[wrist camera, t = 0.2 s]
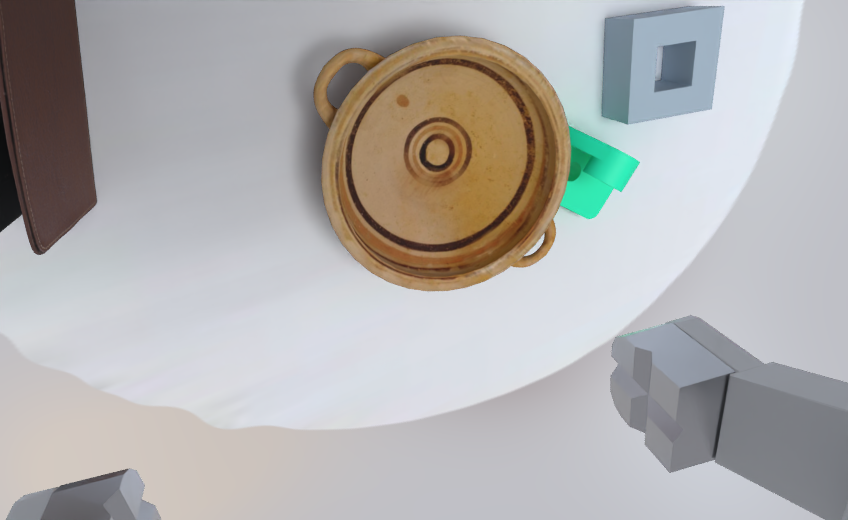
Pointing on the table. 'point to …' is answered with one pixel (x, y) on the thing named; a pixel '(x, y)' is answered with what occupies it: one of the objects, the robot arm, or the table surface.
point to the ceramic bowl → (443, 161)
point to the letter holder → (43, 121)
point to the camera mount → (594, 174)
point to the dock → (681, 68)
